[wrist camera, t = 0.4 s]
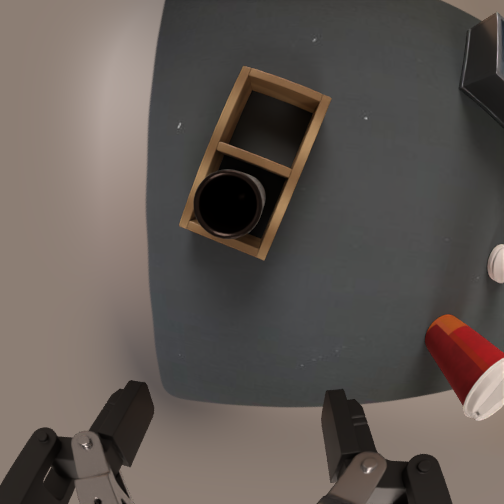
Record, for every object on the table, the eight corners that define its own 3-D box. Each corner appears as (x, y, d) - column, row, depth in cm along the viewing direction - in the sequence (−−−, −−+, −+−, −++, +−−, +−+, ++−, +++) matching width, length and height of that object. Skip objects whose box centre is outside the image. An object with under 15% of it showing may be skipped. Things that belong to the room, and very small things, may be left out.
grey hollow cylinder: (237, 164, 27) (218, 155, 17) (275, 191, 28) (277, 196, 18) (211, 202, 28) (179, 213, 18) (248, 228, 29) (235, 253, 19)
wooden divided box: (247, 81, 25) (243, 65, 21) (323, 109, 25) (332, 97, 21) (191, 219, 29) (178, 226, 25) (265, 248, 29) (264, 260, 25)
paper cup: (431, 366, 32) (476, 432, 18) (408, 337, 31) (460, 409, 17) (470, 328, 30) (527, 382, 16) (452, 294, 29) (519, 348, 15)
